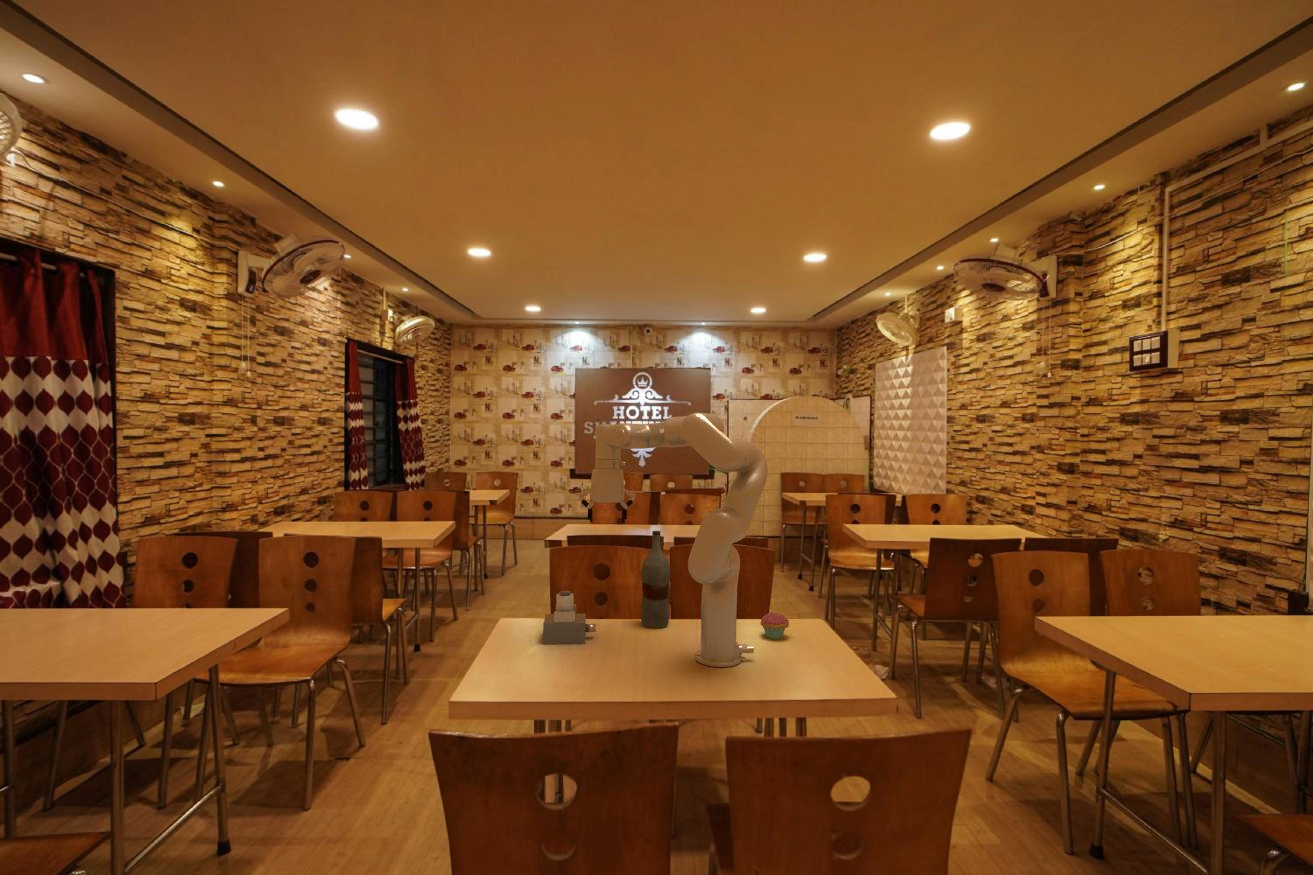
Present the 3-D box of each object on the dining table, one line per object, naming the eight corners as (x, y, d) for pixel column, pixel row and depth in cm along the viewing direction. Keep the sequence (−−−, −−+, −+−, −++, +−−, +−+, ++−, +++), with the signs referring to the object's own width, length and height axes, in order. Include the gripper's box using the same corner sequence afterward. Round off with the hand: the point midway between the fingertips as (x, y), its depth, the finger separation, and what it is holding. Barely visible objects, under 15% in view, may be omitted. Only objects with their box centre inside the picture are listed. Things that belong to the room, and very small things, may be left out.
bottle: (637, 628, 197) (638, 532, 197) (644, 619, 206) (645, 528, 206) (666, 630, 195) (667, 534, 195) (672, 622, 204) (673, 529, 204)
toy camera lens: (574, 615, 188) (574, 589, 188) (572, 620, 183) (572, 594, 183) (557, 615, 188) (557, 589, 188) (555, 620, 183) (555, 594, 183)
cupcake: (755, 633, 193) (756, 594, 193) (780, 631, 196) (780, 593, 196) (768, 642, 185) (769, 601, 185) (794, 640, 187) (794, 600, 187)
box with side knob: (595, 630, 194) (595, 601, 194) (595, 643, 182) (596, 612, 182) (546, 631, 192) (546, 602, 192) (543, 644, 180) (543, 613, 180)
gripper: (635, 464, 194) (634, 520, 194) (579, 464, 192) (578, 520, 192) (637, 465, 186) (636, 523, 186) (578, 465, 184) (577, 523, 184)
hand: (607, 521), depth 189 cm, fingers open, 9 cm apart
